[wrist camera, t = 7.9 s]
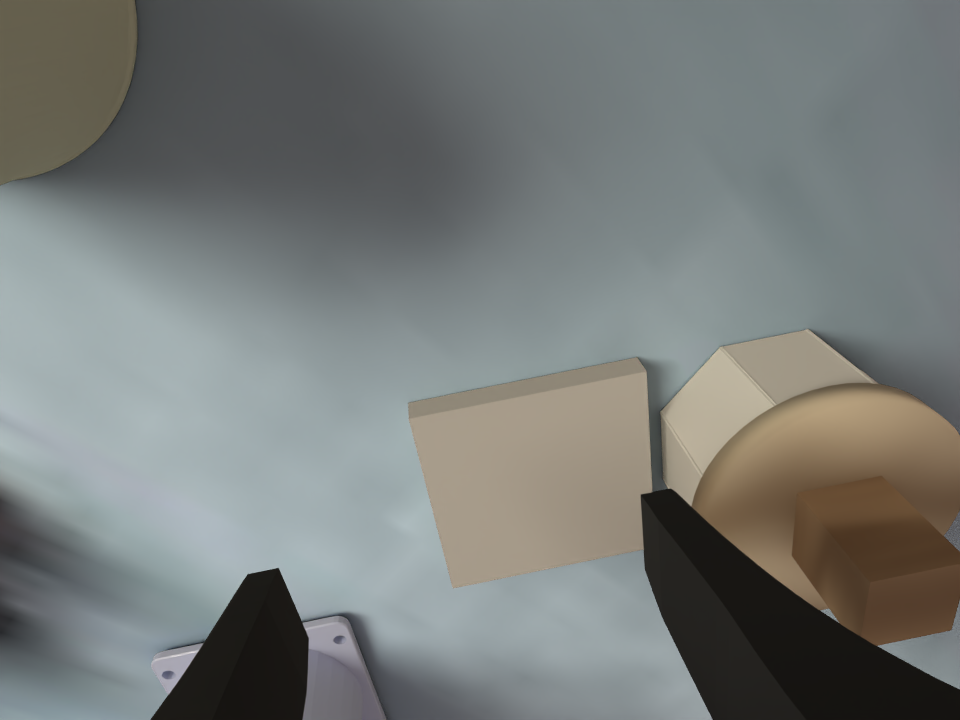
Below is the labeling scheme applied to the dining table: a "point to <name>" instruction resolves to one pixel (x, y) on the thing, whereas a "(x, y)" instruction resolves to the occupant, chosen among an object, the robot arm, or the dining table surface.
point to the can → (60, 78)
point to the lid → (847, 506)
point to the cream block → (537, 470)
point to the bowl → (741, 397)
